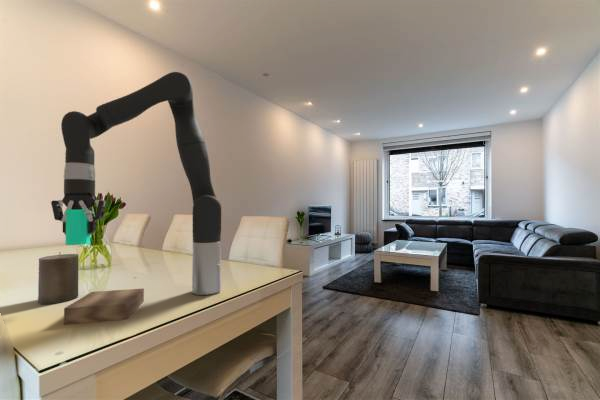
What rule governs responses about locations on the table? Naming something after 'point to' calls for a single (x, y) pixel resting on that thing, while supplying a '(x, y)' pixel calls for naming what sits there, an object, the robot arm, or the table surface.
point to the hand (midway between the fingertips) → (79, 233)
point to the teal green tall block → (77, 227)
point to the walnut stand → (104, 306)
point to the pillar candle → (58, 278)
